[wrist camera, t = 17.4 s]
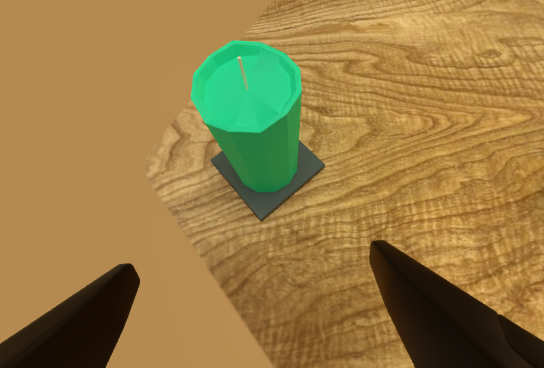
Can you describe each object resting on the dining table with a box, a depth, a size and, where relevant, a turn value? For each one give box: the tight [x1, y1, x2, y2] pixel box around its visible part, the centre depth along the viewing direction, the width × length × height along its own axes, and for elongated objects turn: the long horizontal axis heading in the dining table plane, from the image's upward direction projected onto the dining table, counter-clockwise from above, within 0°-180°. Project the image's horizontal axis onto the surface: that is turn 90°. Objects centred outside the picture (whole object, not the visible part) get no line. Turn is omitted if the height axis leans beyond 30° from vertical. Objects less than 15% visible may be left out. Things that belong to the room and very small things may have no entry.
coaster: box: [211, 140, 325, 221], centre depth 22 cm, size 8×8×1 cm
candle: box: [191, 40, 302, 192], centre depth 16 cm, size 6×6×12 cm
